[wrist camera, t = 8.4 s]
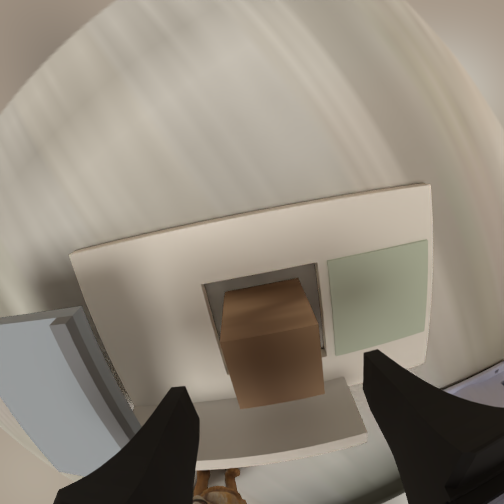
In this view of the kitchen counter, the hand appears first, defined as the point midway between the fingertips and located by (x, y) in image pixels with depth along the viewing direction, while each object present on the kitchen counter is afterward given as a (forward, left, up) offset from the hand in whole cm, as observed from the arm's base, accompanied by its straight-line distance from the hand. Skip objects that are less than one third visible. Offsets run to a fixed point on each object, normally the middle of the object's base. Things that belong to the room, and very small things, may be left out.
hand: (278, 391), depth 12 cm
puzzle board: (0, 0, -6) cm, 6 cm away
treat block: (0, 0, -6) cm, 6 cm away
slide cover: (+11, 0, 0) cm, 11 cm away
